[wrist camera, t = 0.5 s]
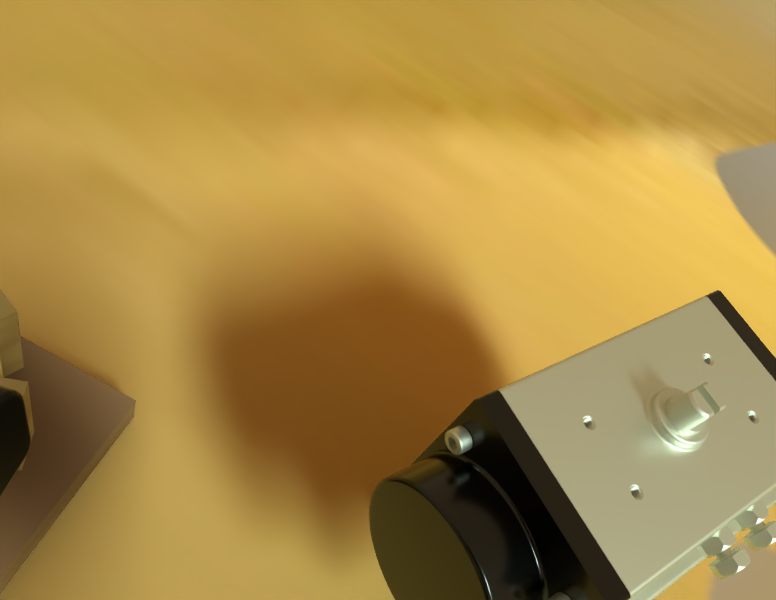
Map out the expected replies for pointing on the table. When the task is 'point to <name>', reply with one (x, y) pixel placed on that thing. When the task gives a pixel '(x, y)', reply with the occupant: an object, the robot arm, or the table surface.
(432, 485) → the pneumatic valve
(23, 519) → the gear board
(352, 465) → the table surface
